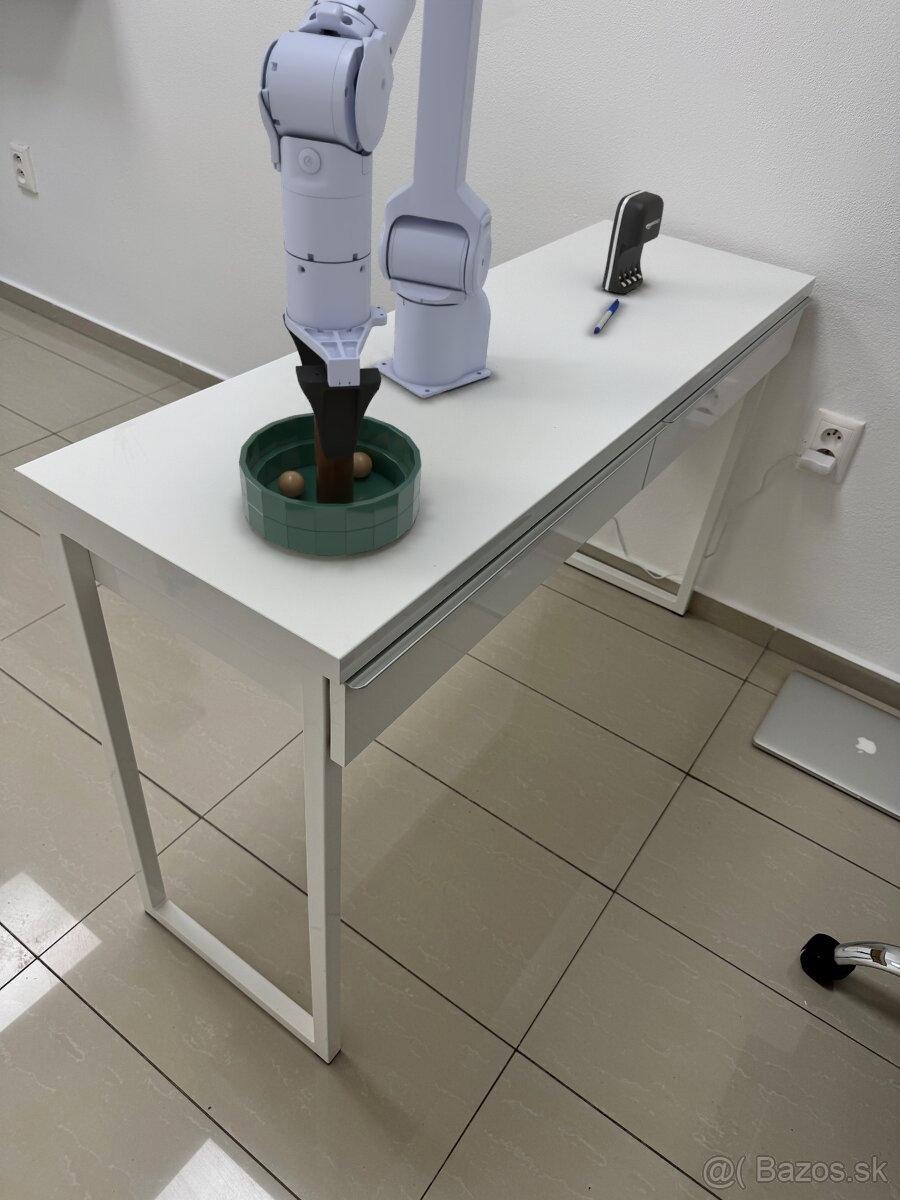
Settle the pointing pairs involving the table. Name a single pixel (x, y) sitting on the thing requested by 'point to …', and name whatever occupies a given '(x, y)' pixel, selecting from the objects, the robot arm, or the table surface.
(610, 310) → the ballpoint pen
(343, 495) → the brown wooden cylinder
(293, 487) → the bead
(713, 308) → the table surface
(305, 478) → the bowl
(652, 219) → the battery charger
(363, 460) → the bead
